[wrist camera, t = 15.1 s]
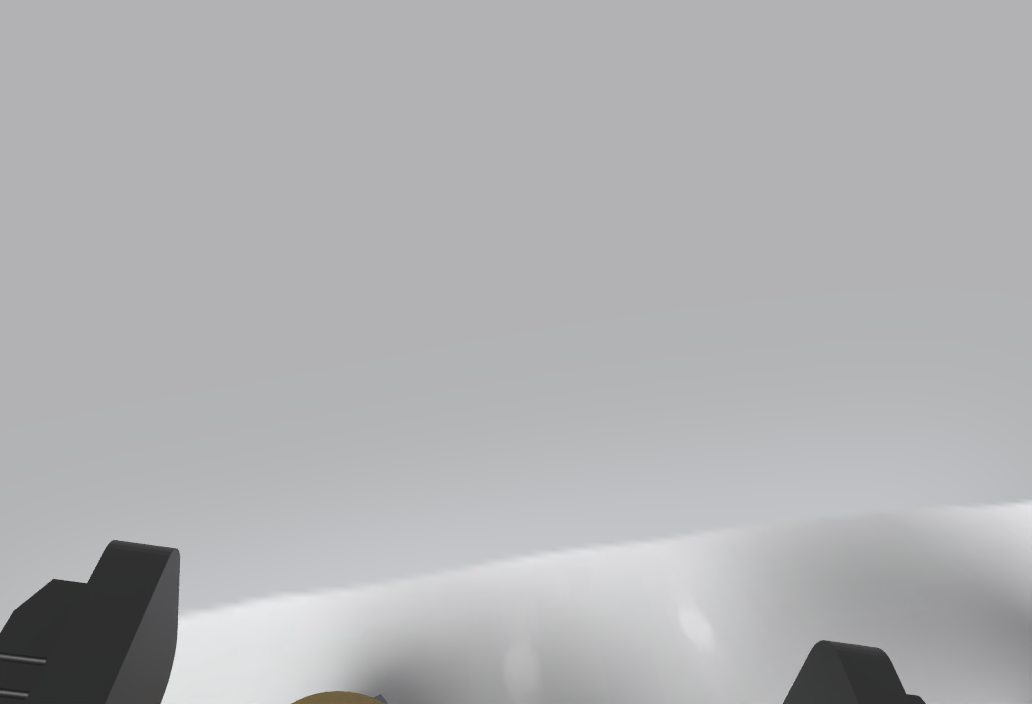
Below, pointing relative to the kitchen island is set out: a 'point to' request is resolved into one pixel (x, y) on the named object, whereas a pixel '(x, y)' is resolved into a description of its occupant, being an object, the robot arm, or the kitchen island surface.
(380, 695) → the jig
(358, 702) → the brass headed pin
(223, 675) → the kitchen island surface
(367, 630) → the kitchen island surface
